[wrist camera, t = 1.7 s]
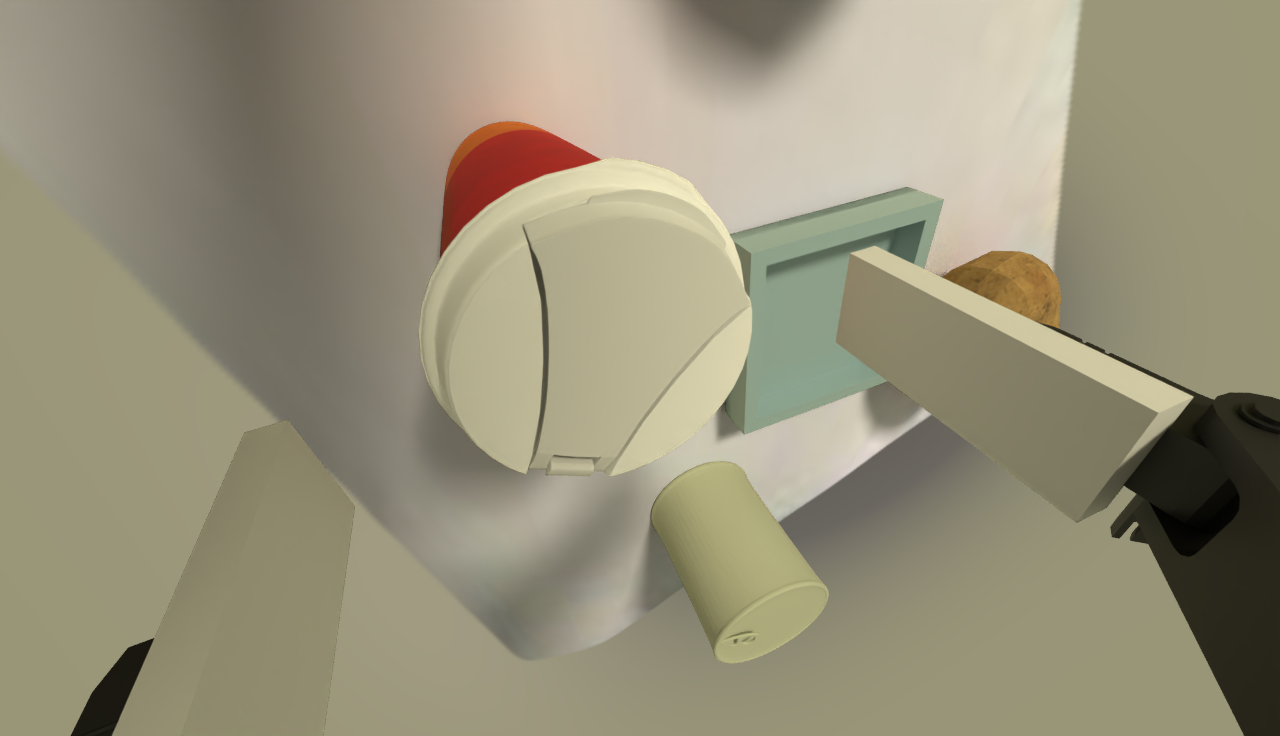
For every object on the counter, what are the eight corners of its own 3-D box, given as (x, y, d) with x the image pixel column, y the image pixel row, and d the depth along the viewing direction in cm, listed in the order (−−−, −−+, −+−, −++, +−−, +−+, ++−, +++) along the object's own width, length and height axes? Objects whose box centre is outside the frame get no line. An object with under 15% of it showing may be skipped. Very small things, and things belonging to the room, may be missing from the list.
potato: (1003, 203, 35) (1127, 242, 29) (968, 347, 44) (1057, 400, 38) (890, 257, 34) (993, 309, 28) (878, 394, 43) (954, 455, 37)
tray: (725, 235, 28) (751, 253, 26) (907, 186, 31) (943, 199, 28) (725, 410, 36) (743, 434, 34) (866, 360, 39) (892, 379, 37)
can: (658, 471, 38) (735, 615, 29) (757, 452, 41) (853, 575, 32) (644, 544, 43) (705, 686, 34) (732, 522, 46) (809, 645, 37)
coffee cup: (569, 289, 26) (686, 497, 15) (403, 250, 22) (388, 496, 11) (625, 130, 23) (835, 243, 11) (439, 49, 18) (474, 97, 7)
